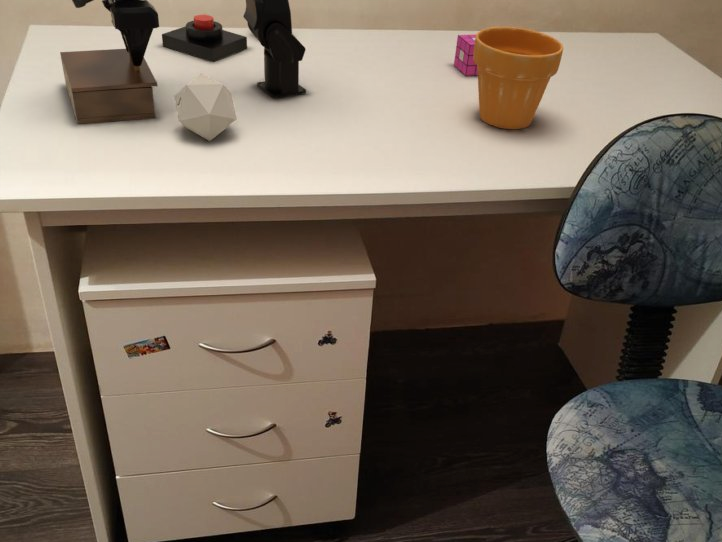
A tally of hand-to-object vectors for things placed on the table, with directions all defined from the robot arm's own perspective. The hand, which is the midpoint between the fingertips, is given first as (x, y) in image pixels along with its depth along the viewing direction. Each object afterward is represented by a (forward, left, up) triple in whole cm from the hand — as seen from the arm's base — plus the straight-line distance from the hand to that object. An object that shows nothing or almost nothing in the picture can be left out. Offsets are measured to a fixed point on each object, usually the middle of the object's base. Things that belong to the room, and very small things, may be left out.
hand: (133, 58), depth 126 cm
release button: (+19, -20, -3) cm, 28 cm away
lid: (+1, +4, -2) cm, 4 cm away
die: (-16, -4, -7) cm, 18 cm away
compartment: (+1, +5, -7) cm, 8 cm away
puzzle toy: (-10, -62, -7) cm, 64 cm away
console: (+19, -20, -7) cm, 29 cm away
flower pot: (-31, -52, -7) cm, 61 cm away
